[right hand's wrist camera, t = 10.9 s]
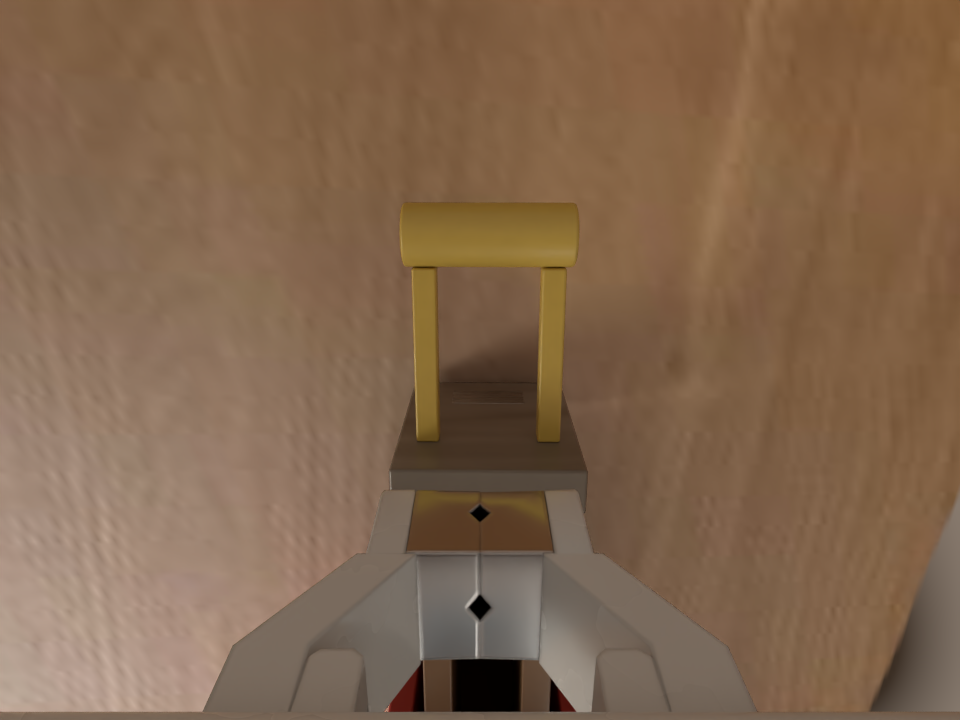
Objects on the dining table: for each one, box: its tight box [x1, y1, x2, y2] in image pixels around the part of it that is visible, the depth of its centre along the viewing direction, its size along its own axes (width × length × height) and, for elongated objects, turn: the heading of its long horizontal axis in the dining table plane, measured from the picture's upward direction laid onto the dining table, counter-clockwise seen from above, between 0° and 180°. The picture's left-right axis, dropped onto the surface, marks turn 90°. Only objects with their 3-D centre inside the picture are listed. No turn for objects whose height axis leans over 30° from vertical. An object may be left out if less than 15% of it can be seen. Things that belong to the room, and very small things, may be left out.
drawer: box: [389, 203, 588, 712], centre depth 21 cm, size 23×5×6 cm, turn 0°
